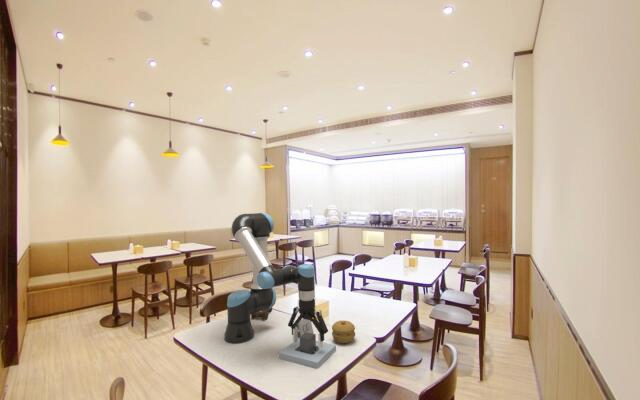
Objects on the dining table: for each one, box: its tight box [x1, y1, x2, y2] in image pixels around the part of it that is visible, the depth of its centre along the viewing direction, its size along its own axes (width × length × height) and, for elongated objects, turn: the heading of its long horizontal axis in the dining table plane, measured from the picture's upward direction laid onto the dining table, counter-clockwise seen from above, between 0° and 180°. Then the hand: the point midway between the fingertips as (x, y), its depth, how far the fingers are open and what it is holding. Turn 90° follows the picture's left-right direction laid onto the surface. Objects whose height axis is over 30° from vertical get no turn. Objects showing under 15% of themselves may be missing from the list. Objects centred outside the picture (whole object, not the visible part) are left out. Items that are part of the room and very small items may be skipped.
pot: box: [331, 320, 356, 344], centre depth 155 cm, size 12×12×10 cm
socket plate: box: [278, 337, 337, 369], centre depth 142 cm, size 20×18×2 cm
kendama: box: [250, 307, 273, 321], centre depth 191 cm, size 6×10×20 cm
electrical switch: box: [296, 318, 315, 338], centre depth 162 cm, size 9×5×9 cm, turn 141°
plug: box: [299, 332, 317, 355], centre depth 142 cm, size 5×6×8 cm
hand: (307, 345), depth 142 cm, fingers open, 13 cm apart
